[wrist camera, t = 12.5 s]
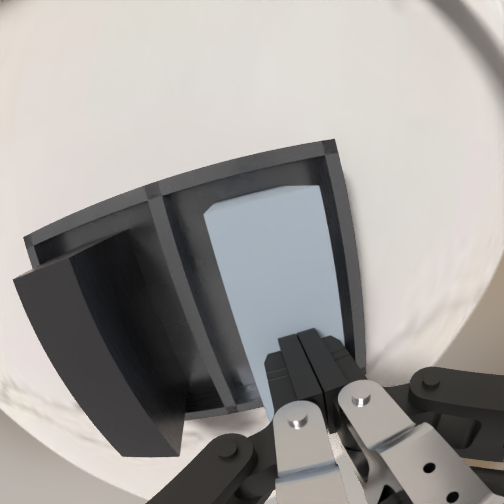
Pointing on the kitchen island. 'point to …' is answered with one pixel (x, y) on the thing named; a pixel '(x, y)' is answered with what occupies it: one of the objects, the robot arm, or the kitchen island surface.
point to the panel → (276, 270)
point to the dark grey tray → (168, 297)
